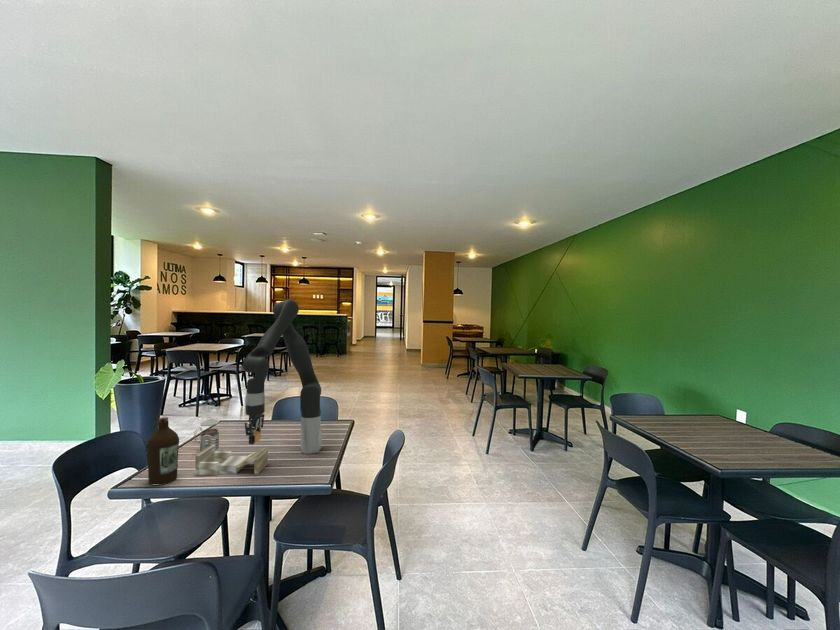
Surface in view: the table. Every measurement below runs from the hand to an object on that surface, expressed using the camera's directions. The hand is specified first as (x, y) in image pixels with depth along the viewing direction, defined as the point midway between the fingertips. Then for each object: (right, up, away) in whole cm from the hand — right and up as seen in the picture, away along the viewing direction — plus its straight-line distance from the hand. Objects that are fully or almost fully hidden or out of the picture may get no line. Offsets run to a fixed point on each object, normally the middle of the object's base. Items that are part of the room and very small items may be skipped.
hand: (254, 441), depth 158 cm
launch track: (-9, -12, 0) cm, 15 cm away
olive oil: (-31, -12, -12) cm, 36 cm away
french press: (-31, -11, +18) cm, 38 cm away
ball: (0, +2, 0) cm, 2 cm away
